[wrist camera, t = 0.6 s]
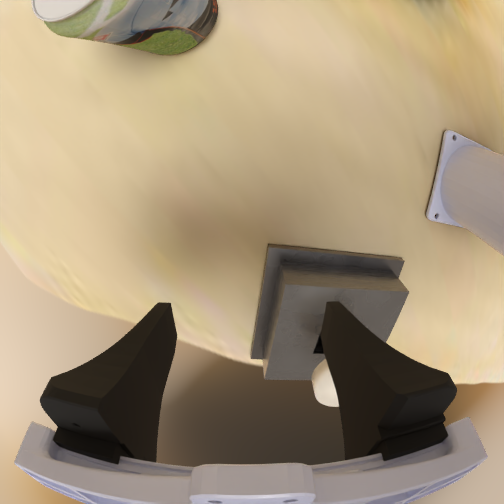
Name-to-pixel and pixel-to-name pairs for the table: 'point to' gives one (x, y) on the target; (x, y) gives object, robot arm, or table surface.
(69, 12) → the beverage can
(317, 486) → the robot arm
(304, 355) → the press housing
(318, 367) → the plunger
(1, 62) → the table surface
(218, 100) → the table surface
